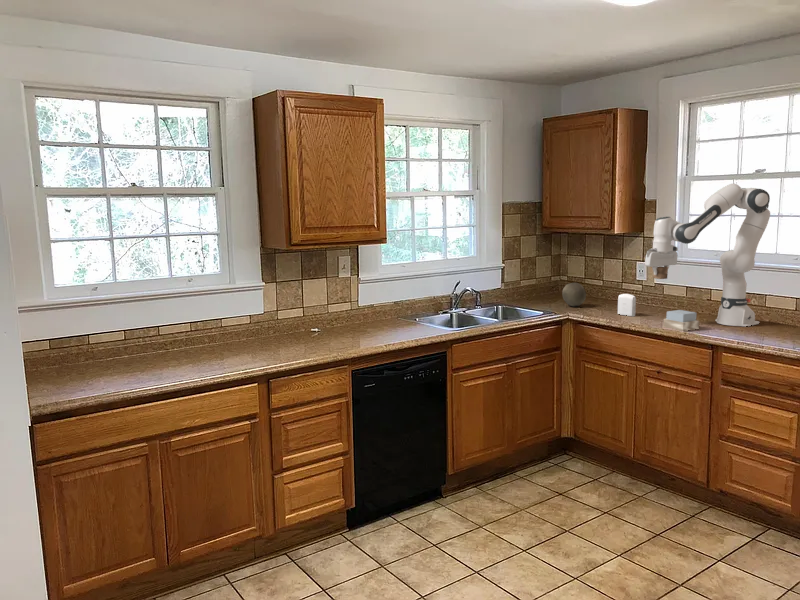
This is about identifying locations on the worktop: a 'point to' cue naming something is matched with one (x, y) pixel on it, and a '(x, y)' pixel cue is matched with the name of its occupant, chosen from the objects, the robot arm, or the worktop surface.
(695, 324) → the ash base slab
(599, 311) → the worktop surface
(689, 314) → the slate top block
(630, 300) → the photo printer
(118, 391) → the worktop surface
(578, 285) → the grey ball
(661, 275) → the walnut block
